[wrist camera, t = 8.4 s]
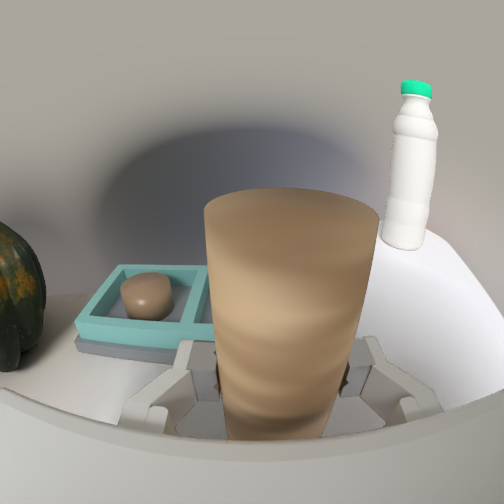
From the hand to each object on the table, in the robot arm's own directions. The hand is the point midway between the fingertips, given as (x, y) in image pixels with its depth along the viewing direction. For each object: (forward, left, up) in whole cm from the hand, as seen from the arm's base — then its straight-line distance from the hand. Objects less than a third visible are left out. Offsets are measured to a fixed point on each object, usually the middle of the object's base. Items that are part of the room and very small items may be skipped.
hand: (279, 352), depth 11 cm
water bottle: (+22, +30, -8) cm, 38 cm away
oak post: (0, -1, -8) cm, 8 cm away
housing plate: (-6, +12, -8) cm, 16 cm away
